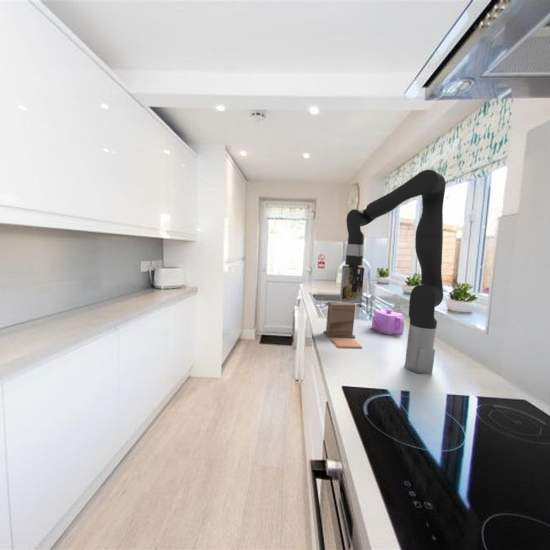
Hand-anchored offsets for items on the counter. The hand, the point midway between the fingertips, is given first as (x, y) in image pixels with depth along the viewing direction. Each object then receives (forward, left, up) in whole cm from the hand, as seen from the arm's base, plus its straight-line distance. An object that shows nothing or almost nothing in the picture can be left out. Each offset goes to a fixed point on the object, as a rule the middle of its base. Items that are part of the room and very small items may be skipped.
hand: (351, 290), depth 138 cm
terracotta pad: (0, 0, -25) cm, 25 cm away
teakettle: (+24, -32, -26) cm, 48 cm away
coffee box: (0, 0, -5) cm, 5 cm away
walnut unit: (+13, -1, -25) cm, 29 cm away
